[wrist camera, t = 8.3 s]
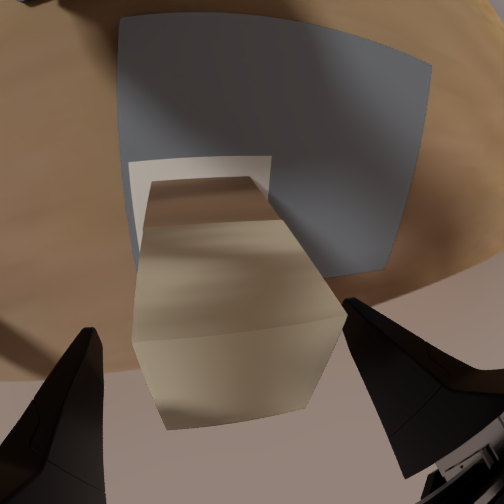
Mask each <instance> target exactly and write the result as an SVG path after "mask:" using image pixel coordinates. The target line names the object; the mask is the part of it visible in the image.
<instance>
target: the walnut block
mask: <svg viewBox="0 0 504 504" xmlns="http://www.w3.org/2000/svg"><path fill="white" fill-rule="evenodd" d="M265 220H281V219H280V217H279V216H278V215H277V213H276V212H275V210H274V209H273V208H272V206H271V205H270V204H269V202H268V201H267V199H266V198H265V197H264V195H263V194H262V193H261V191H260V190H259V188H258V187H257V186H256V184H255V183H254V182H253V180H252V179H251V178H250V176H239V177H212V178H193V179H177V180H164V181H152V182H151V187H150V191H149V196H148V202H147V207H146V213H145V218H144V224H143V229H144V227H157V226H172V225H187V224H204V223H222V222H242V221H265Z"/></svg>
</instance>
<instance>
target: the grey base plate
mask: <svg viewBox="0 0 504 504" xmlns="http://www.w3.org/2000/svg"><path fill="white" fill-rule="evenodd" d="M431 70H432V65H431V64H429V63H426V62H424V61H422V60H420V59H418V58H415V57H413V56H411V55H408V54H406V53H404V52H401V51H399V50H396V49H393V48H391V47H388V46H385V45H383V44H380V43H377V42H374V41H371V40H368V39H365V38H362V37H359V36H356V35H352V34H349V33H345V32H342V31H338V30H334V29H330V28H326V27H322V26H318V25H313V24H308V23H304V22H298V21H293V20H287V19H281V18H274V17H267V16H259V15H249V14H237V13H220V12H175V13H158V14H146V15H137V16H129V17H121V18H120V23H119V36H118V57H117V111H118V133H119V148H120V161H121V171H122V181H123V190H124V198H125V205H126V212H127V219H128V226H129V232H130V238H131V244H132V250H133V255H134V260H135V265H136V270H137V272H138V264H139V256H140V249H141V242H142V235H143V224H144V218H145V213H146V207H147V202H148V196H149V191H150V187H151V182H152V181H164V180H177V179H193V178H212V177H239V176H250V178H251V179H252V180H253V182H254V183H255V184H256V186H257V187H258V188H259V190H260V191H261V193H262V194H263V195H264V197H265V198H266V199H267V201H268V202H269V204H270V205H271V206H272V208H273V209H274V210H275V212H276V213H277V215H278V216H279V217H280V219H281V220H283V221H284V223H285V224H286V225H287V227H288V228H289V230H290V231H291V232H292V234H293V235H294V237H295V238H296V239H297V241H298V242H299V244H300V245H301V247H302V248H303V249H304V251H305V252H306V254H307V255H308V257H309V258H310V260H311V261H312V262H313V264H314V265H315V267H316V268H317V270H318V271H319V273H320V274H321V276H322V277H323V278H330V277H338V276H345V275H352V274H359V273H365V272H372V271H379V270H384V269H385V267H386V264H387V261H388V258H389V256H390V253H391V250H392V247H393V244H394V241H395V238H396V235H397V231H398V228H399V225H400V222H401V219H402V215H403V212H404V208H405V205H406V201H407V198H408V194H409V190H410V186H411V183H412V179H413V175H414V170H415V166H416V162H417V157H418V153H419V148H420V143H421V138H422V133H423V127H424V122H425V116H426V110H427V103H428V96H429V88H430V80H431Z"/></svg>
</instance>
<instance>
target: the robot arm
mask: <svg viewBox="0 0 504 504" xmlns="http://www.w3.org/2000/svg"><path fill="white" fill-rule="evenodd" d="M17 1H19V2H21V3H25V2H28V1H30V0H17ZM342 307H343V308H344V310H345V311H346V313H347V315H348V316H347V318H346V321H345V323H344V326H343V328H342V330H343V333H344V336H345V338H346V341H347V344H348V347H349V350H350V352H351V355H352V357H353V359H354V362H355V364H356V366H357V368H358V370H359V372H360V375H361V377H362V379H363V381H364V383H365V385H366V388H367V390H368V392H369V395H370V396H371V399H372V401H373V404H374V406H375V408H376V411H377V413H378V415H379V417H380V420H381V422H382V424H383V427H384V429H385V432H386V434H387V436H388V439H389V442H390V444H391V446H392V449H393V451H394V454H395V456H396V459H397V461H398V464H399V466H400V469H401V471H402V474H403V476H404V478H405V479H407V478H409V477H411V476H413V475H415V474H416V473H418V472H420V471H422V470H424V469H425V468H427V467H429V466H431V465H432V464H434V463H435V464H436V465H437V467H438V469H436V470H435V471H433V472H432V473H430V474H429V475H428V477H427V480H426V483H425V487H424V490H423V493H422V496H421V501H419V502H417V503H416V504H504V369H497V370H479V369H476V368H473V367H471V366H469V365H467V364H465V363H463V362H461V361H460V360H458V359H456V358H454V357H452V356H450V355H448V354H446V353H444V352H443V351H441V350H439V349H438V348H436V347H434V346H432V345H431V344H429V343H428V342H425V341H424V340H423V339H421V338H420V337H418V336H416V335H415V334H413V333H412V332H410V331H408V330H407V329H405V328H403V327H402V326H400V325H399V324H397V323H396V322H394V321H392V320H391V319H389V318H387V317H386V316H384V315H383V314H381V313H379V312H378V311H376V310H374V309H373V308H371V307H370V306H368V305H366V304H365V303H363V302H361V301H360V300H358V299H356V298H354V297H352V298H347V299H345V300H344V301H343V303H342ZM103 397H104V379H103V347H102V343H101V340H100V338H99V336H98V334H97V331H96V329H95V328H94V327H85V328H83V329H82V330H81V331H80V333H79V334H78V335H77V337H76V338H75V339H74V341H73V342H72V343H71V345H70V346H69V347H68V349H67V350H66V352H65V353H64V354H63V356H62V357H61V358H60V360H59V361H58V363H57V364H56V366H55V367H54V368H53V370H52V371H51V373H50V374H49V376H48V377H47V379H46V380H45V381H44V383H43V384H42V386H41V388H40V389H39V391H38V392H37V394H36V395H35V397H34V400H32V401H31V403H30V404H29V406H28V407H27V409H26V410H25V412H24V413H23V415H22V416H21V418H20V420H19V421H18V422H17V423H16V425H15V426H14V428H13V429H12V430H11V431H10V433H9V434H8V436H7V437H6V438H5V440H4V441H3V442H2V444H1V445H0V504H106V494H105V483H104V468H103Z"/></svg>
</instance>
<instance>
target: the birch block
mask: <svg viewBox="0 0 504 504" xmlns="http://www.w3.org/2000/svg"><path fill="white" fill-rule="evenodd" d="M347 316H348V315H347V313H346V311H345V310H344V308H343V307H342V305H341V304H340V302H339V301H338V299H337V298H336V296H335V295H334V293H333V292H332V290H331V289H330V287H329V286H328V284H327V283H326V281H325V280H324V279H323V277H322V276H321V274H320V273H319V271H318V270H317V268H316V267H315V265H314V264H313V262H312V261H311V260H310V258H309V257H308V255H307V254H306V252H305V251H304V249H303V248H302V247H301V245H300V244H299V242H298V241H297V239H296V238H295V237H294V235H293V234H292V232H291V231H290V230H289V228H288V227H287V225H286V224H285V223H284V221H283V220H265V221H242V222H222V223H204V224H187V225H172V226H157V227H144V229H143V235H142V242H141V249H140V256H139V264H138V272H137V281H136V291H135V301H134V313H133V328H132V344H133V347H134V350H135V353H136V356H137V359H138V362H139V364H140V367H141V370H142V372H143V375H144V378H145V380H146V382H147V385H148V388H149V390H150V393H151V395H152V398H153V400H154V402H155V405H156V407H157V409H158V411H159V414H160V416H161V418H162V420H163V423H164V425H165V427H166V429H167V430H177V429H189V428H199V427H208V426H216V425H223V424H231V423H237V422H243V421H249V420H254V419H260V418H265V417H270V416H275V415H279V414H283V413H288V412H292V411H296V410H300V409H304V408H306V406H307V404H308V402H309V400H310V398H311V396H312V394H313V392H314V390H315V388H316V386H317V384H318V381H319V379H320V377H321V376H322V373H323V371H324V369H325V367H326V365H327V362H328V360H329V358H330V356H331V354H332V351H333V349H334V347H335V345H336V342H337V340H338V338H339V335H340V333H341V330H342V328H343V326H344V323H345V321H346V318H347Z"/></svg>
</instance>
